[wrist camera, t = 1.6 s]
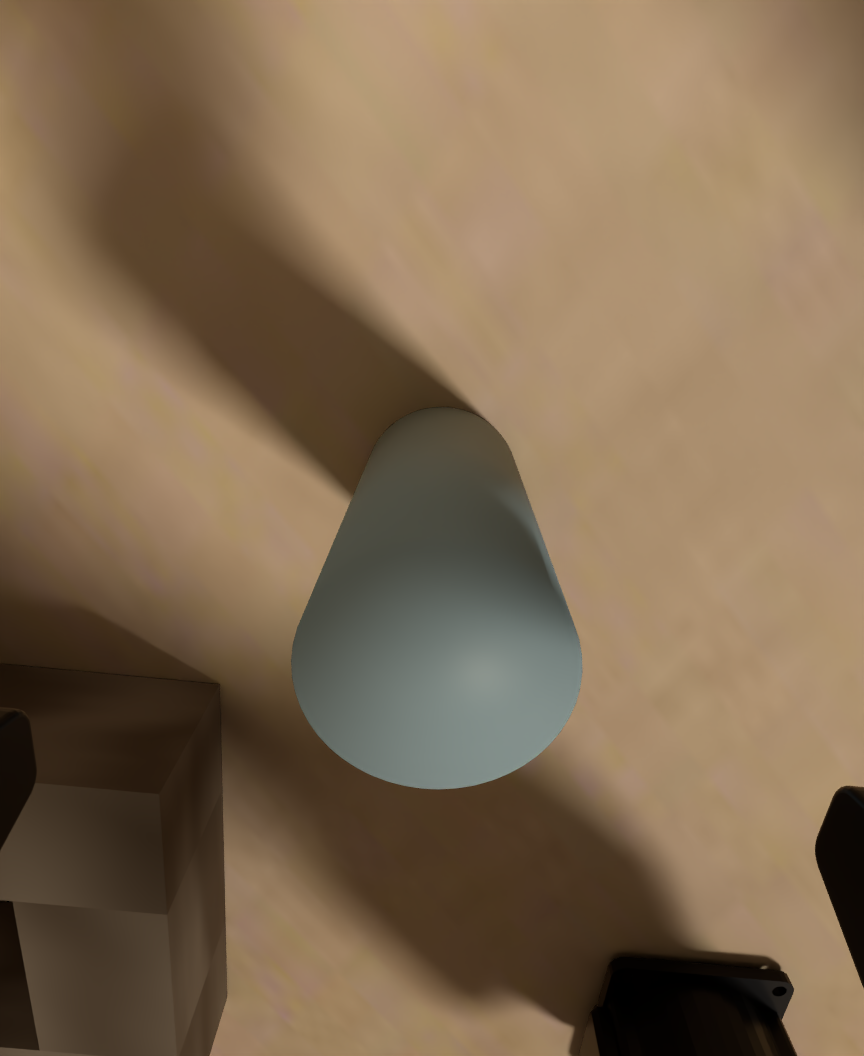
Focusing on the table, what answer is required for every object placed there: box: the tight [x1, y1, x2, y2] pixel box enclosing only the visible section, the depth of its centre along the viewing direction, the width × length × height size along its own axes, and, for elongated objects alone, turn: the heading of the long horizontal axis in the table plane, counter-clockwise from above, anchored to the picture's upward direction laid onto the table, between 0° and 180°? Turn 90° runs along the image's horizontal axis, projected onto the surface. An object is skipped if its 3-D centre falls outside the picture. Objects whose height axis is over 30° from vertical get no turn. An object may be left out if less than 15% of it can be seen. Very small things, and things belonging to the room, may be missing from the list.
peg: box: [291, 407, 582, 789], centre depth 13 cm, size 4×4×9 cm
